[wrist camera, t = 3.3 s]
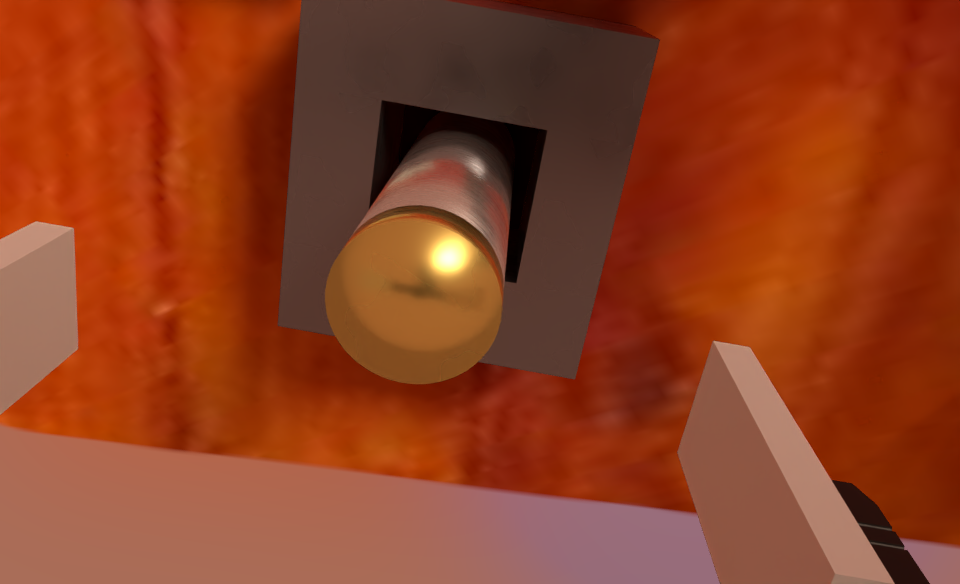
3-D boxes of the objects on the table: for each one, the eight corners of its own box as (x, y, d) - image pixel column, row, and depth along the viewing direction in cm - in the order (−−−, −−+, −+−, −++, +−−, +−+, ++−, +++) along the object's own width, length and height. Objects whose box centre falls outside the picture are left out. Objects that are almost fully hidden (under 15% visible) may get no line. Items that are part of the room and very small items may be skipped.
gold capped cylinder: (424, 97, 31) (333, 205, 17) (523, 115, 31) (516, 238, 17) (410, 193, 32) (317, 367, 18) (505, 211, 32) (485, 397, 18)
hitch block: (347, -27, 29) (303, -26, 23) (635, 26, 29) (659, 39, 24) (319, 267, 34) (277, 325, 28) (567, 312, 34) (575, 379, 28)
